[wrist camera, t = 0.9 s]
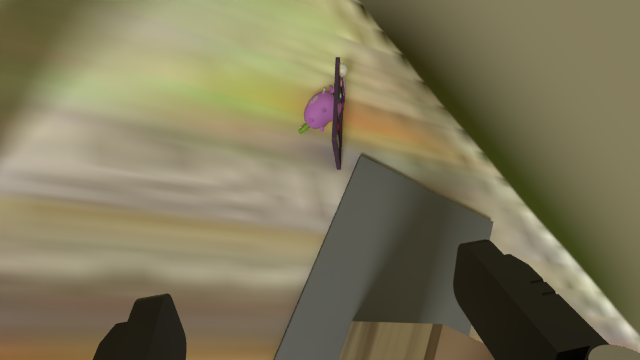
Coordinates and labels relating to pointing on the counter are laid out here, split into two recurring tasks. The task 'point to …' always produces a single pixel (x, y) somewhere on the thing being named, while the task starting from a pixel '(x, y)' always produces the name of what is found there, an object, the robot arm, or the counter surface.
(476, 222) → the rubber mat
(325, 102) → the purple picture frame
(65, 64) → the counter surface
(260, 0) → the counter surface
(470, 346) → the beech block
